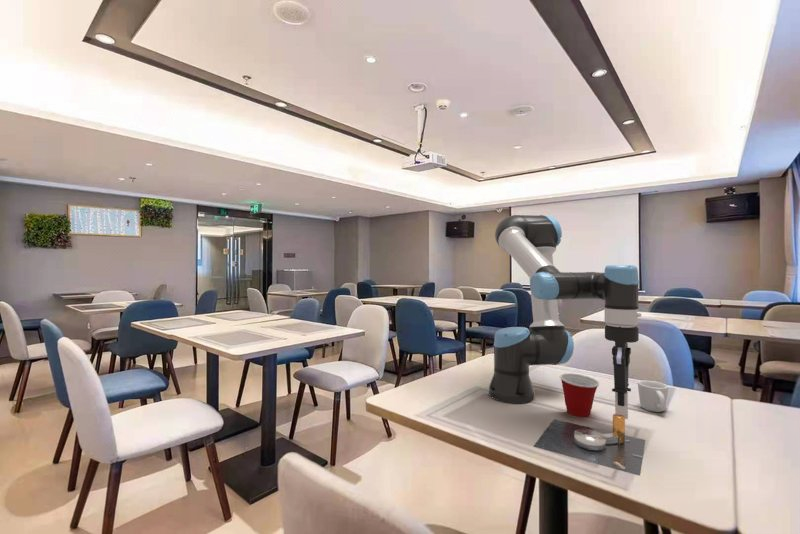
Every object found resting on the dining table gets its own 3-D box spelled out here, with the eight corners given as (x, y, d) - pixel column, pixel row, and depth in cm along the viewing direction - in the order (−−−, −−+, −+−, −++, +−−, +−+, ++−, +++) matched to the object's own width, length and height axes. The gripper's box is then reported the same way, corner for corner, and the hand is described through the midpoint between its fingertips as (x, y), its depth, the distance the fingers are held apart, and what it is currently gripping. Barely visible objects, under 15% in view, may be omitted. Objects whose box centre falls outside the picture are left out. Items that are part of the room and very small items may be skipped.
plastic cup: (592, 429, 106) (592, 386, 105) (553, 418, 113) (553, 378, 113) (604, 418, 113) (605, 377, 113) (567, 408, 121) (567, 370, 121)
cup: (677, 418, 113) (677, 391, 113) (647, 416, 115) (648, 390, 114) (660, 405, 124) (660, 381, 123) (633, 403, 125) (633, 379, 125)
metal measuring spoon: (585, 451, 89) (586, 425, 89) (568, 438, 96) (568, 413, 96) (634, 447, 92) (634, 421, 92) (613, 434, 98) (613, 410, 98)
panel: (533, 452, 93) (533, 445, 93) (553, 424, 109) (554, 418, 109) (639, 482, 80) (640, 474, 80) (645, 445, 96) (645, 439, 96)
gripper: (636, 329, 90) (636, 429, 90) (640, 323, 101) (640, 412, 101) (601, 326, 95) (601, 421, 95) (608, 321, 105) (608, 406, 105)
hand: (621, 416), depth 98 cm, fingers closed
